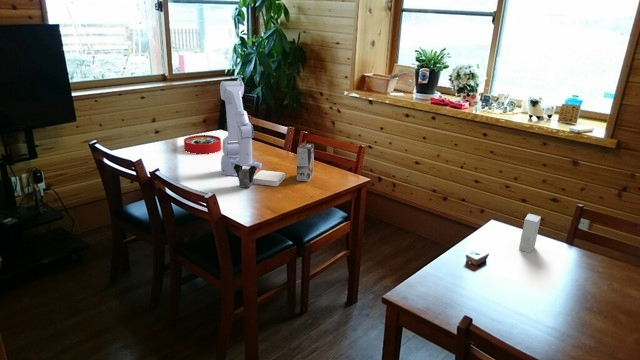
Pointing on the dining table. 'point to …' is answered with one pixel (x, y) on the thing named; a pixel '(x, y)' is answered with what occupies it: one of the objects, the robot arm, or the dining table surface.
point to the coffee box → (305, 162)
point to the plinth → (268, 178)
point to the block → (244, 178)
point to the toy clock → (202, 144)
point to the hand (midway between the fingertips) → (245, 181)
